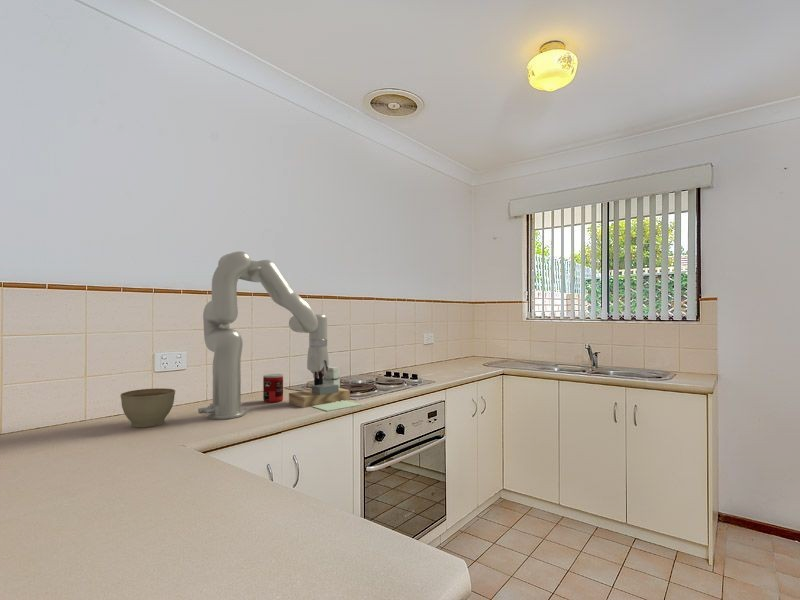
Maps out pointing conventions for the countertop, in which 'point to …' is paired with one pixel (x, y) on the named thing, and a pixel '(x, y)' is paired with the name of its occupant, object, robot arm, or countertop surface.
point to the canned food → (273, 388)
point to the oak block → (317, 398)
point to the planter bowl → (147, 406)
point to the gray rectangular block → (324, 389)
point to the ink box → (332, 376)
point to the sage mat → (336, 405)
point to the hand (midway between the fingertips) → (318, 387)
